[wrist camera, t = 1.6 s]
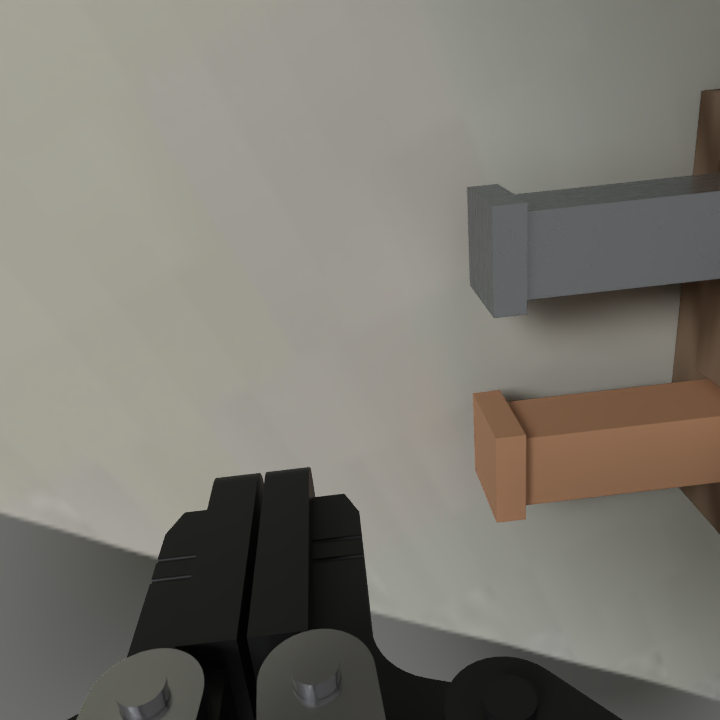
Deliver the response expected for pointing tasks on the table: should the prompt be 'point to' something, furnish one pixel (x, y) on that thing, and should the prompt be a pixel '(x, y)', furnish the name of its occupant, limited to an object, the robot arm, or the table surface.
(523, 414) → the rust plug
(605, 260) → the grey plug
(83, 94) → the table surface
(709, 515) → the socket block
